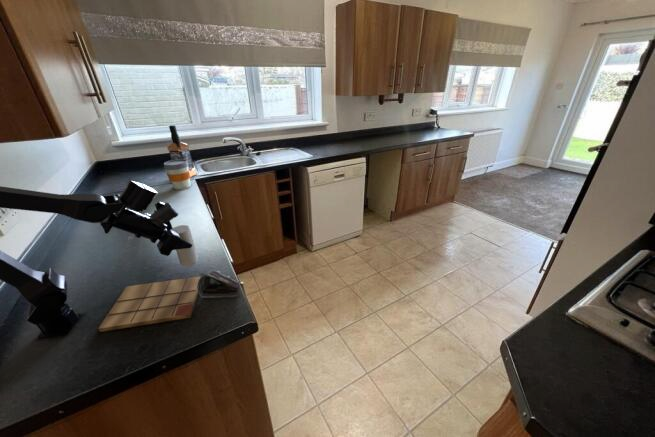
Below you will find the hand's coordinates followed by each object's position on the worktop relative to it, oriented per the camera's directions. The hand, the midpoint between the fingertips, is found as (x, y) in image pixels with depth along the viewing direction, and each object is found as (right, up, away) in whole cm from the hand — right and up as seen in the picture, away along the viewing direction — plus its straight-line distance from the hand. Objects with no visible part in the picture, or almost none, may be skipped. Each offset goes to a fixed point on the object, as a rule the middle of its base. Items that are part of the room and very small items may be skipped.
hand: (188, 242), depth 85 cm
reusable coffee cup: (-43, +27, +76) cm, 91 cm away
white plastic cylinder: (-1, -6, +2) cm, 7 cm away
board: (-5, -17, -8) cm, 19 cm away
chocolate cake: (+12, -14, -3) cm, 19 cm away
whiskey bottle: (-50, +36, +94) cm, 113 cm away
